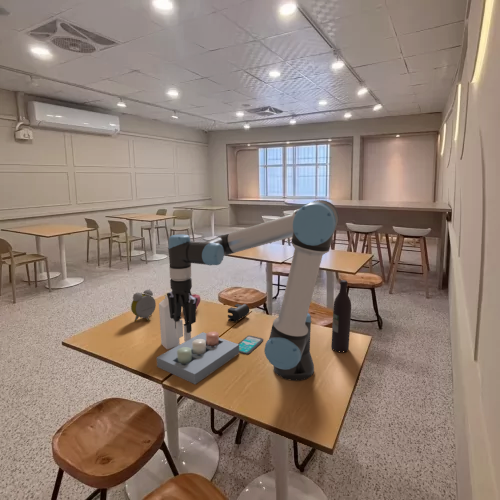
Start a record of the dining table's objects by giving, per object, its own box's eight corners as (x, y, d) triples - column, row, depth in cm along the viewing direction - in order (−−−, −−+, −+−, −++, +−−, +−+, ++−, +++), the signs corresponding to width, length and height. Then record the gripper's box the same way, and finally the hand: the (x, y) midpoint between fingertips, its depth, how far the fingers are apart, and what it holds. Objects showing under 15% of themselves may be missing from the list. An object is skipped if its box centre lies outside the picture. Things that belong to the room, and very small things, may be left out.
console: (239, 353, 139) (239, 344, 138) (195, 384, 118) (194, 374, 117) (203, 340, 150) (202, 332, 149) (157, 366, 129) (156, 357, 129)
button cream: (208, 350, 134) (208, 341, 133) (199, 356, 130) (199, 346, 129) (199, 346, 137) (198, 337, 136) (189, 352, 133) (189, 342, 132)
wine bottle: (335, 343, 147) (338, 277, 141) (350, 347, 143) (355, 280, 137) (328, 349, 142) (332, 281, 135) (345, 354, 138) (349, 284, 131)
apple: (181, 312, 182) (180, 295, 179) (186, 306, 190) (185, 289, 188) (198, 313, 180) (197, 295, 178) (202, 307, 188) (202, 290, 186)
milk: (166, 349, 142) (163, 300, 138) (161, 344, 147) (157, 296, 142) (180, 345, 146) (177, 297, 141) (174, 340, 151) (171, 293, 146)
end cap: (238, 324, 167) (238, 311, 166) (227, 320, 171) (227, 308, 170) (249, 317, 176) (249, 304, 174) (238, 314, 179) (238, 302, 178)
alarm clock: (151, 314, 179) (149, 287, 176) (159, 317, 175) (157, 290, 172) (131, 321, 170) (129, 293, 167) (139, 325, 166) (137, 296, 163)
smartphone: (264, 338, 150) (248, 353, 138) (264, 340, 151) (248, 355, 138) (248, 334, 154) (230, 348, 142) (248, 336, 155) (230, 351, 142)
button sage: (194, 359, 128) (194, 349, 127) (184, 365, 124) (184, 355, 123) (184, 355, 131) (184, 345, 130) (174, 361, 126) (174, 351, 126)
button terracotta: (221, 342, 141) (221, 333, 140) (213, 347, 136) (213, 338, 136) (212, 339, 143) (211, 330, 143) (203, 344, 139) (203, 335, 138)
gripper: (205, 279, 119) (207, 340, 124) (172, 272, 128) (175, 329, 133) (190, 284, 113) (192, 348, 118) (157, 276, 122) (160, 336, 127)
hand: (183, 338), depth 125 cm, fingers open, 3 cm apart
